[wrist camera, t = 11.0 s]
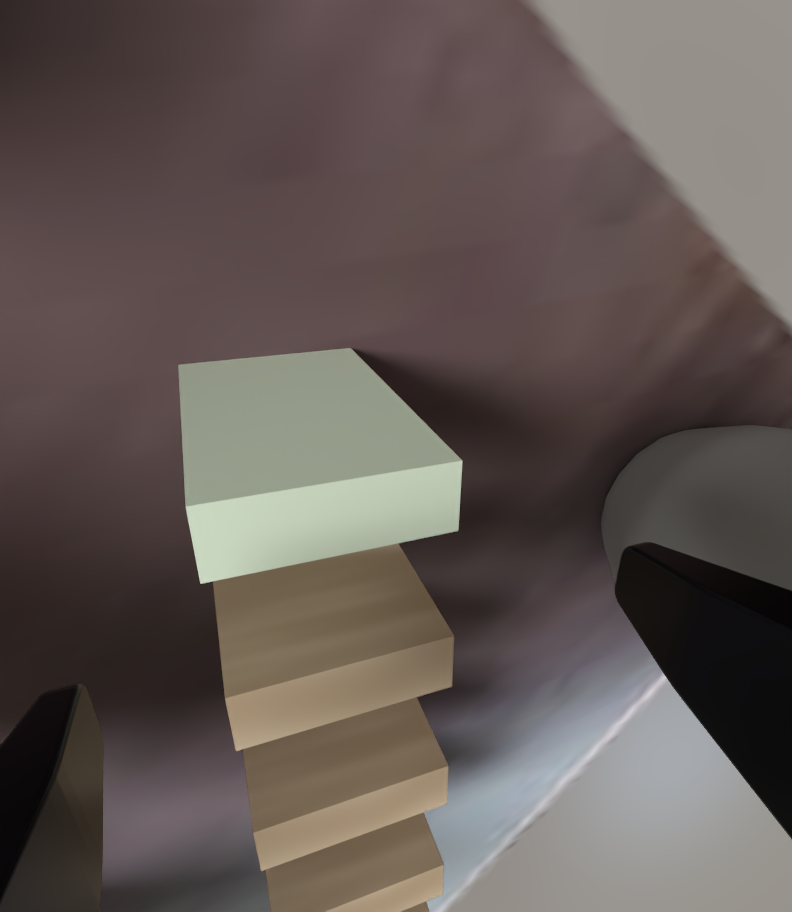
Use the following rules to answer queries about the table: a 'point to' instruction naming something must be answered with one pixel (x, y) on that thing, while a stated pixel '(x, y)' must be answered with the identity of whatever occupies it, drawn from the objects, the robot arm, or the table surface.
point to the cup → (709, 500)
